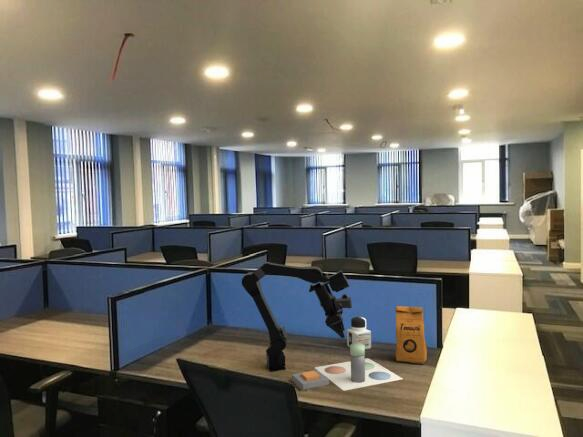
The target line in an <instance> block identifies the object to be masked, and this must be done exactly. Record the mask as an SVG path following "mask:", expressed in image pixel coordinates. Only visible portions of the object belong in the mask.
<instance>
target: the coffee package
mask: <svg viewBox="0 0 583 437" xmlns="http://www.w3.org/2000/svg"><path fill="white" fill-rule="evenodd" d="M395 321H396V322H395V341H396V346H395V361H397V362H405V363H411V364H420V365H425V362H426V361H427V360H428V359H427V357H428V356H427V354H428V353H427V352H428V346H427V342H426V340H425V323H424V308H423V306H422V307H419V306H405V305H404V306H401V305H395Z"/></svg>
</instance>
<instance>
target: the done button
mask: <svg viewBox="0 0 583 437" xmlns="http://www.w3.org/2000/svg"><path fill="white" fill-rule="evenodd" d="M300 373H301V377H302V378H303V379H305V380H306V381H309V380H314V379H320V375H318V374H317V373H316V372H315V371H314V370H309V371H304V372H300Z"/></svg>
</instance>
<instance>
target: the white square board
mask: <svg viewBox="0 0 583 437" xmlns="http://www.w3.org/2000/svg"><path fill="white" fill-rule="evenodd" d="M314 369H315V370H318V371H319V372H320V373H322V374H323V375H324V376H325V377H327V378H328V379H329V381H331V382H332V383H333V384H334V385H336V386H337V387H338V388H339V389H341V390H342V391H343V392H344V391H350V390H355V389H359V388H360V389H361V388H364V387H365V388H366V387H372V386H375V385H380V384H384V383H390V382H394V381H399V380H403V379H404V378H402V377H401V376H399V375H397V374H396V373H394V372H392V371H390V370H389V369H388V368H386V367H384V366H382V365H381V364H379V363H377V362H375V361H373V360H372V359H370V358H367V357H366V358H365V381H364V382H362V383H356V382H352V381H351V360H350V361H349V360H348V361H344V362H338V363H333V364H327V365H322V366H321V365H320V366H316V367H315V366H314Z"/></svg>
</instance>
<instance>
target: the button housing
mask: <svg viewBox="0 0 583 437" xmlns="http://www.w3.org/2000/svg"><path fill="white" fill-rule="evenodd" d="M313 371H315V372H316V373H317V374H318V375H320V379H314V380H309V381H306V380H305V379H303V378H302V377H301V373H302V372H300V373H299V372H298V373H293V374H291V379H292V380H291V381H292V383H294V385H296V386H297V387H298V388H299V389H300V390H301V391H302V392H307V391H308V389H312V388H318V387H322V386H327V385H330V380H329V379H328V378H327V377H326V376H324V375H323V374H322V373H320V372H319V371H318V370H317V369H315V370H313Z"/></svg>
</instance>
